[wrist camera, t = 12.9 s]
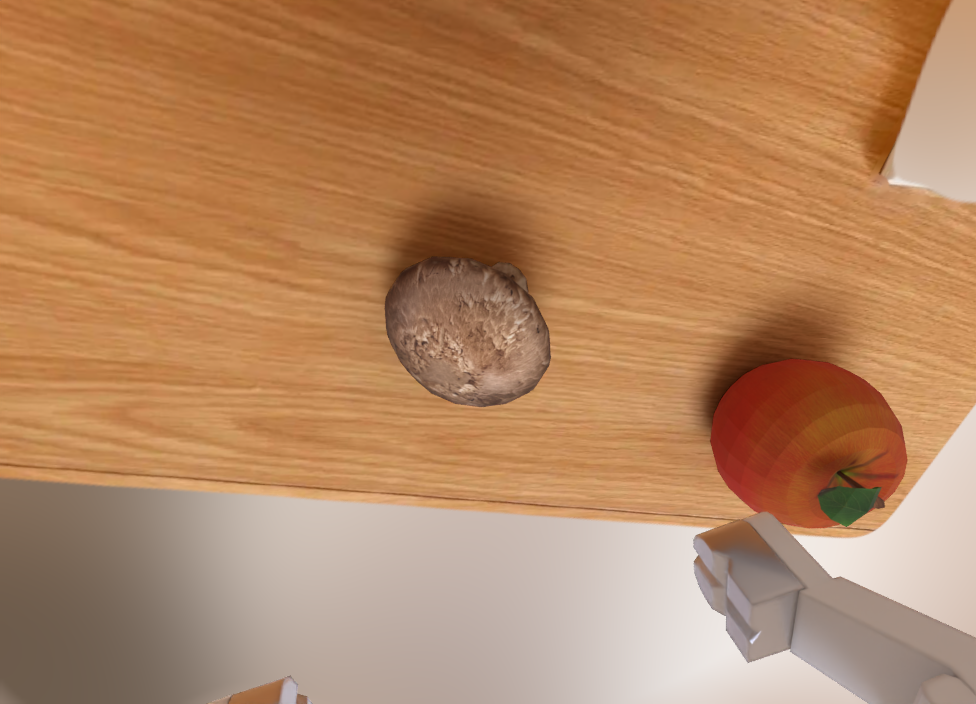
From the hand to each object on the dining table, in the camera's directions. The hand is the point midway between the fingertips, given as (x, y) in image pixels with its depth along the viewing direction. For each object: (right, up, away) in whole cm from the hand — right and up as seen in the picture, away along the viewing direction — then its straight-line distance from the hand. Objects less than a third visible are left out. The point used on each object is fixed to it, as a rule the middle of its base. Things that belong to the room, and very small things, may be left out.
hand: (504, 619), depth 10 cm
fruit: (+17, +2, +24) cm, 29 cm away
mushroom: (-2, +7, +17) cm, 18 cm away
